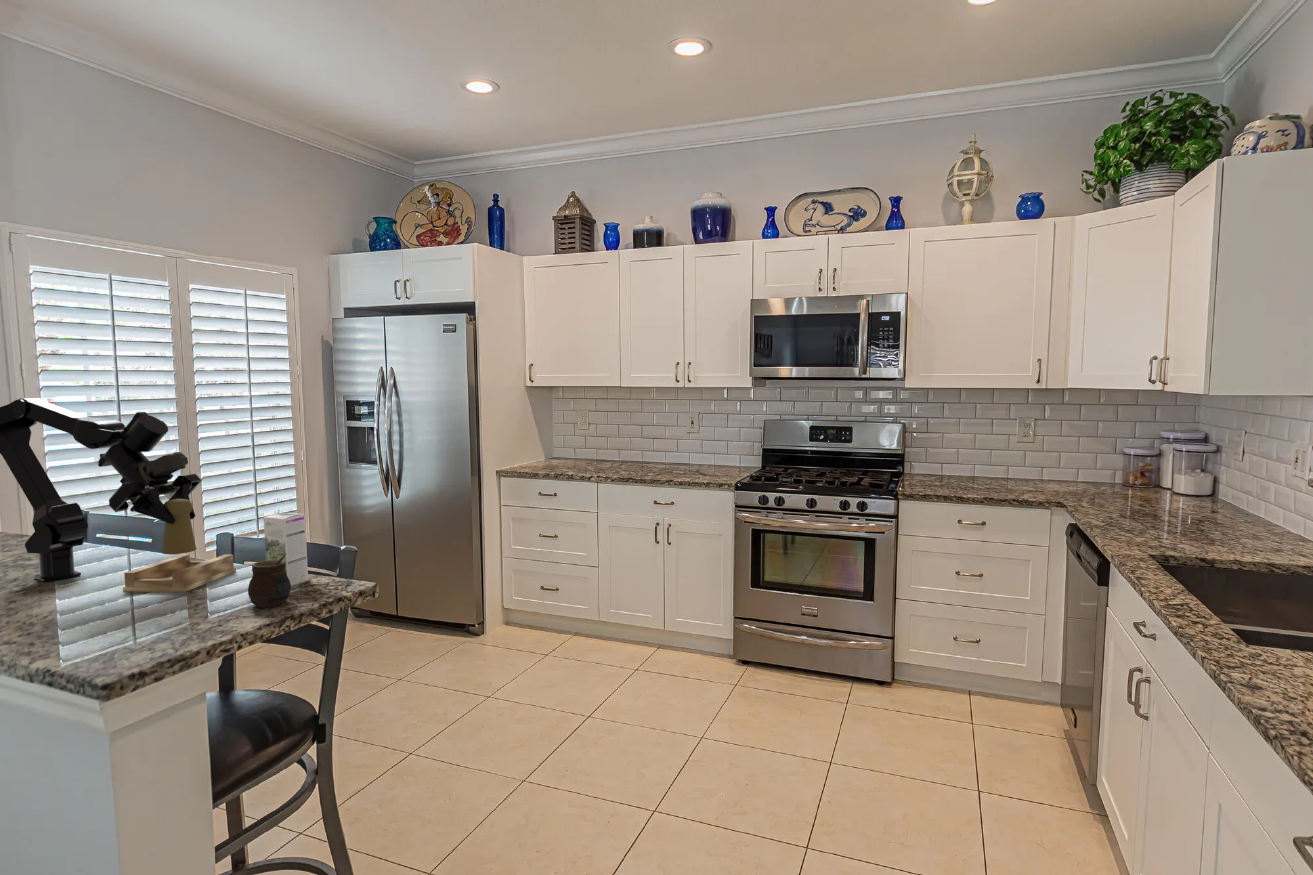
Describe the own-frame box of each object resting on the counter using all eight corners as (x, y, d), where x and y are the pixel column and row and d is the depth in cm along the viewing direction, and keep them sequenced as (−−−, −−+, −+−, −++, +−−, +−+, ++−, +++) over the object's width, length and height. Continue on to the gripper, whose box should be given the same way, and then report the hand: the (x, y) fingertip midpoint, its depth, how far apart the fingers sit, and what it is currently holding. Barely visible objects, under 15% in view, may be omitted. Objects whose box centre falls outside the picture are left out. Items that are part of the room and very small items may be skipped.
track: (179, 570, 160) (179, 554, 160) (236, 571, 159) (235, 554, 159) (123, 591, 144) (121, 572, 144) (185, 591, 143) (184, 573, 143)
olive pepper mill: (191, 552, 149) (189, 500, 149) (157, 555, 147) (155, 502, 147) (199, 546, 155) (197, 496, 154) (167, 548, 153) (165, 498, 152)
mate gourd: (264, 598, 139) (263, 547, 138) (301, 599, 138) (299, 548, 137) (239, 609, 131) (237, 556, 131) (277, 611, 131) (276, 557, 130)
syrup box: (309, 580, 151) (306, 512, 150) (286, 587, 146) (283, 517, 145) (288, 578, 153) (285, 511, 152) (265, 585, 148) (262, 516, 147)
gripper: (118, 444, 141) (171, 501, 140) (191, 437, 159) (238, 487, 159) (85, 483, 142) (137, 539, 142) (161, 471, 161) (208, 521, 160)
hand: (183, 520), depth 151 cm, fingers closed on olive pepper mill, 5 cm apart
